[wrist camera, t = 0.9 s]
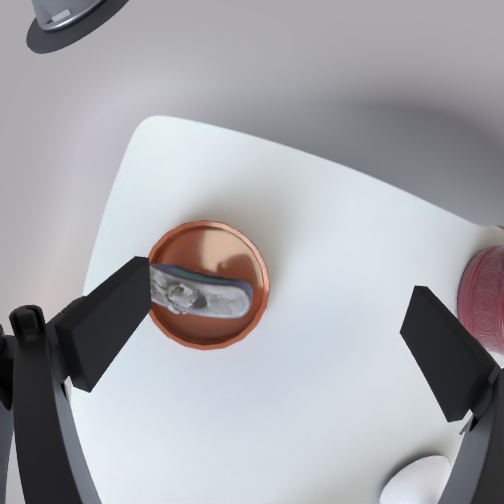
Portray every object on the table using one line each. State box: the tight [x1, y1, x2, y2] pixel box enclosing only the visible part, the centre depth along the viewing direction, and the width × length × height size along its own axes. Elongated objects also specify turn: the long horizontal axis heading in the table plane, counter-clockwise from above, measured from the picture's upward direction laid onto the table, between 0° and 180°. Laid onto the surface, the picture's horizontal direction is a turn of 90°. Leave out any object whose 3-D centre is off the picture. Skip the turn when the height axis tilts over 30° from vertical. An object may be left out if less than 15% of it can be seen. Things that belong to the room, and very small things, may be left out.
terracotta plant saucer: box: [148, 220, 270, 350], centre depth 28 cm, size 12×12×2 cm
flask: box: [150, 264, 253, 319], centre depth 24 cm, size 9×3×11 cm, turn 77°
